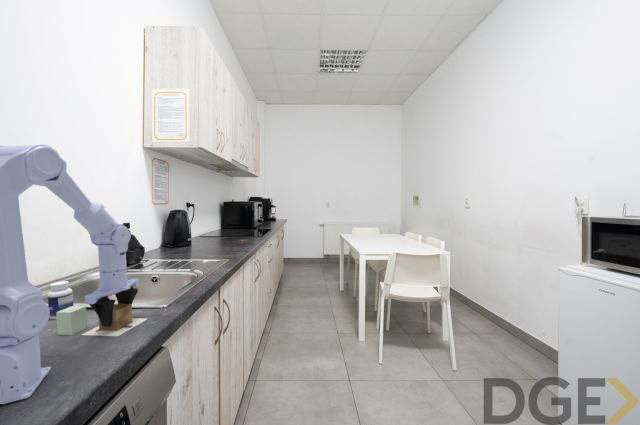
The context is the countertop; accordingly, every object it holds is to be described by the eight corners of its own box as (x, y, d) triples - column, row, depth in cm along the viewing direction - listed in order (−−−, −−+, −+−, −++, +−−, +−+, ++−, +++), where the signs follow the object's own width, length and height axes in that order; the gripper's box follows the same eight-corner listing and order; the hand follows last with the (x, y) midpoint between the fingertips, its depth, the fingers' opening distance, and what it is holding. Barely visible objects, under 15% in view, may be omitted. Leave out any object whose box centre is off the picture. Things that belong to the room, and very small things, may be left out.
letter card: (117, 337, 67) (117, 336, 67) (81, 336, 69) (81, 334, 69) (147, 319, 77) (147, 318, 77) (115, 318, 78) (115, 317, 78)
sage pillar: (72, 336, 69) (70, 312, 68) (57, 335, 69) (56, 312, 69) (87, 328, 73) (86, 306, 72) (73, 328, 73) (72, 306, 73)
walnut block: (117, 331, 70) (116, 311, 70) (99, 330, 71) (98, 311, 70) (132, 322, 75) (131, 304, 75) (115, 321, 76) (114, 303, 75)
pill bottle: (45, 317, 80) (43, 284, 80) (69, 310, 85) (67, 279, 85) (53, 320, 78) (51, 286, 77) (77, 313, 83) (75, 281, 82)
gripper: (102, 278, 65) (105, 334, 65) (147, 263, 79) (150, 310, 80) (75, 277, 65) (78, 333, 66) (125, 263, 80) (127, 309, 80)
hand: (116, 321), depth 73 cm, fingers closed on walnut block, 5 cm apart
